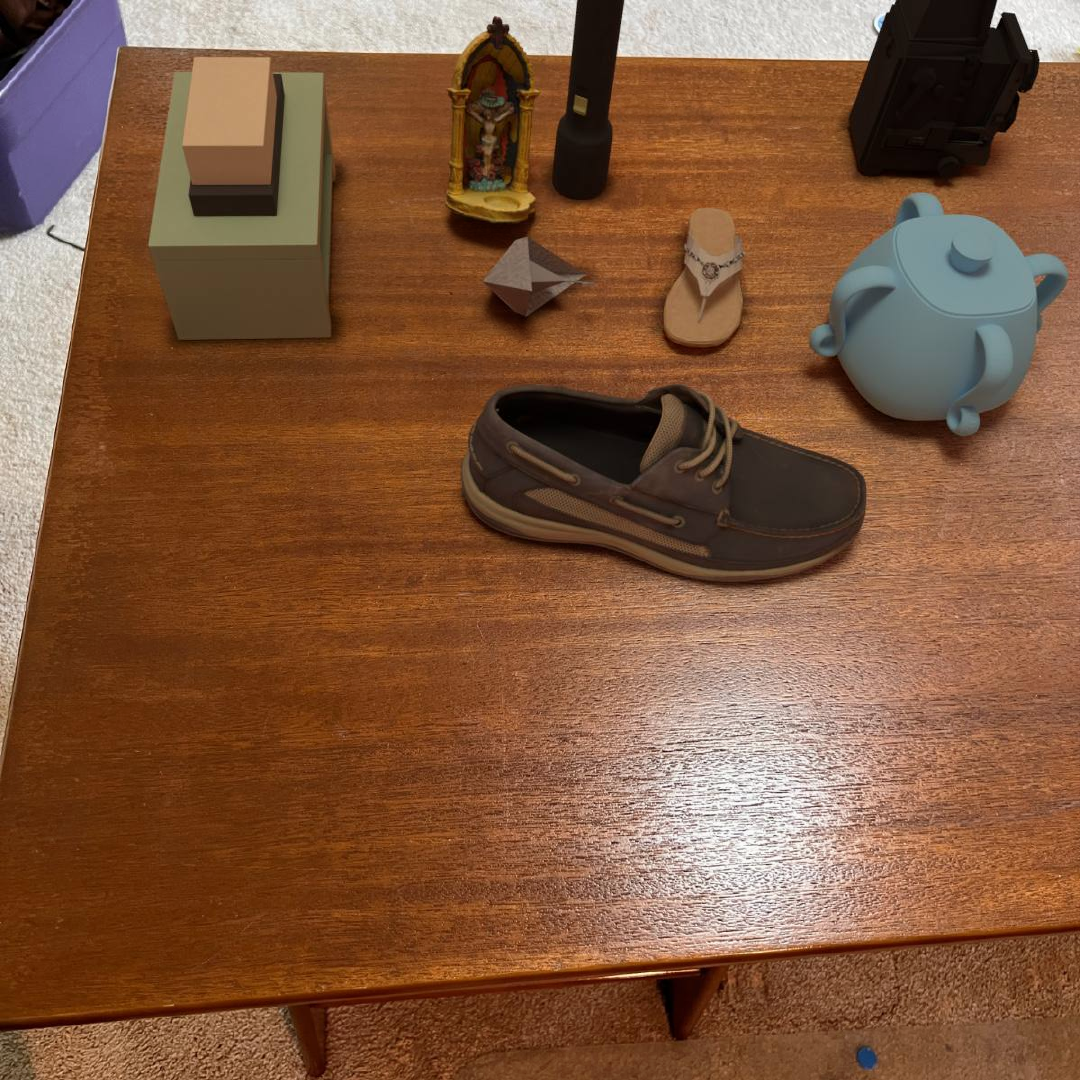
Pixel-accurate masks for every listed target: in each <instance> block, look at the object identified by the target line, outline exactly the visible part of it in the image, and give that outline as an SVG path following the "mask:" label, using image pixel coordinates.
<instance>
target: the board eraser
mask: <svg viewBox="0 0 1080 1080" xmlns="http://www.w3.org/2000/svg"><path fill="white" fill-rule="evenodd" d="M191 72H192V76H191V84H190V91H189V98H188V105H187V113H186V120H185V127H184V134H183V142H182V148H183V151H184V155H185V159H186V163H187V167H188V170H189V174H190V178H191V179H190V187H189V195H188V196H189V199H190V203H191V207H192V210H193V214H194V216H277V206H278V191H279V175H280V160H281V145H282V129H283V114H284V99H285V94H284V87H283V81H282V75H281V74H273V72H274V71H273V65H272V59H271V57H268V56H267V57H265V56H264V57H258V56H255V57H254V56H253V57H250V56H249V57H248V56H194V57H193V62H192V71H191Z"/></svg>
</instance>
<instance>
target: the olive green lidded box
mask: <svg viewBox="0 0 1080 1080" xmlns="http://www.w3.org/2000/svg"><path fill="white" fill-rule="evenodd" d="M273 74H281V75H282V81H283V87H284V94H285V99H284V114H283V129H282V145H281V160H280V175H279V191H278V206H277V216H194V214H193V210H192V207H191V203H190V199H189V196H188V195H189V187H190V179H191V178H190V174H189V170H188V167H187V163H186V159H185V155H184V151H183V148H182V142H183V134H184V127H185V120H186V113H187V105H188V98H189V91H190V84H191V76H192V71H174V73H173V80H172V86H171V92H170V100H169V106H168V112H167V119H166V126H165V132H164V139H163V145H162V151H161V158H160V166H159V173H158V177H157V184H156V191H155V197H154V205H153V211H152V217H151V224H150V231H149V236H148V237H149V238H148V244H147V247H148V250H149V254H150V257H151V259H152V263H153V265H154V269H155V271H156V275H157V278H158V281H159V284H160V287H161V290H162V294H163V296H164V299H165V302H166V305H167V308H168V312H169V314H170V317H171V321H172V324H173V327H174V330H175V334H176V337H177V339H178V341H202V340H205V341H206V340H256V339H257V340H258V339H259V340H260V339H262V340H263V339H266V340H267V339H268V340H269V339H318V338H319V339H320V338H331V337H332V319H331V312H330V311H331V310H330V282H331V281H330V277H331V276H330V275H331V243H332V213H333V212H332V207H333V183H335V182H336V163H335V155H334V147H333V139H332V131H331V122H330V121H331V120H330V114H329V106H328V97H327V90H326V81H325V73H324V72H300V71H299V72H294V71H293V72H291V71H287V72H286V71H285V72H283V71H281V72H280V71H279V72H277V71H273Z"/></svg>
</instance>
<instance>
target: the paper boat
mask: <svg viewBox="0 0 1080 1080" xmlns="http://www.w3.org/2000/svg"><path fill="white" fill-rule="evenodd" d="M585 276H587V273H586V272H584V271H581V269H580V268H577V267H576V266H574V265H572V264H571V263H569V262H568V261H567V260H565V259H563V258H561V257H560V256H559V255H557V254H555V253H554V252H552V251H551V250H549V249H547V248H546V247H544V246H543V245H541V244H540V243H538V242H536V241H535V240H533V239H532V238H530V237H528V236H526V237H521V238H518V239H516V240H514V241H513V242H512V244H511V245H510V246H509V248H508V249H507V250H506V251H505V253H504V254H503V255H502V256H501V257H500V259H499V260H498V261H497V262H496V263H495V264H494V266H493V267H492V268H491V269H490V271H489V272H488V273H487V275H486V276H484V278H483V280H482V282H483V283H484V284H485V286H487V287H488V288H489V289H490V290H491V291H492V292H493V293H494V294H495V295H496V296H497V297H498V298H499V299H500V300H502V301H503V302H504V304H506V305H507V306H508V307H509V309H511V310H512V311H513V312H514V313H517V314H519V315H521V316H523V317H527V316H529V315H531V313H534V311H536V310H538V309H539V308H541V307H542V306H543V305H545V304H546V303H547V302H550V300H552V299H553V298H555V297H556V296H558V295H559V294H561V293H562V292H564V291H565V290H566V289H568V288H569V287H570V286H573V284H575V283H577V284H580V286H581V287H588V286H594V285H596V282H593V281H592V282H591V281H583V280H582V281H580V279H582V278H585Z"/></svg>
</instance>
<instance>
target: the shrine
mask: <svg viewBox="0 0 1080 1080" xmlns="http://www.w3.org/2000/svg"><path fill="white" fill-rule="evenodd" d="M510 30H511V27H510V25H509V24H508V23H503V19H502V18H501V17H500V16H497V15H495V16H493V18H492V21H491V23H488V24H487V26H486V30H485V31H483V32H480V33H479V34H477V35H476V36H475V37H474V38H472V39H471V41H470V42H468V44H467V45H466V47H465V48H464V50H463V51H462V52H461V53H460V55H459V57H458V59H457V61H456V63H455V66H454V69H453V73H452V74H453V75H452V80H451V81H452V83H451V87H450V88H446V91H447V96H448V97H449V98H450V100H451V103H452V104H451V113H452V114H451V115H452V117H451V130H450V131H451V133H450V135H451V137H450V158H449V161H448V166H449V169H448V184H447V190H446V192H445V196H446V201H445V203H444V206H445V207H446V208H447V209H448V210H449V211H451V212H453V213H454V214H456V215H459V216H462V217H466V218H470V219H476V220H479V221H483V222H487V223H490V224H519V223H520V224H521V223H522V222H523V221H526V222H527V221H528V220H529V218H530V216H531V215H533V216H535V215H536V212H535V211H536V208H535V206H534V204H535V203H536V202H537V198H536V197H535V196H534V195H533V194H532V192H530V191H529V190H528V189H529V188H528V181H529V179H530V171H529V169H530V164H529V162H530V148H531V139H532V138H531V137H532V128H533V121H532V120H533V113H534V111H535V106H534V103H535V101H536V99H537V98H538V97H539V96H540V94H541V91H540V90H538V89H536V88H535V87H536V84H535V78H534V72H535V71H534V70H533V64H532V63H530V58H529V56H528V54H527V52H526V51H525V50H524V47H522V46H521V43H520V42H519V41H518V40H517V39H516V38H515V36H512V35H511V34H510V33H509V32H510Z"/></svg>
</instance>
